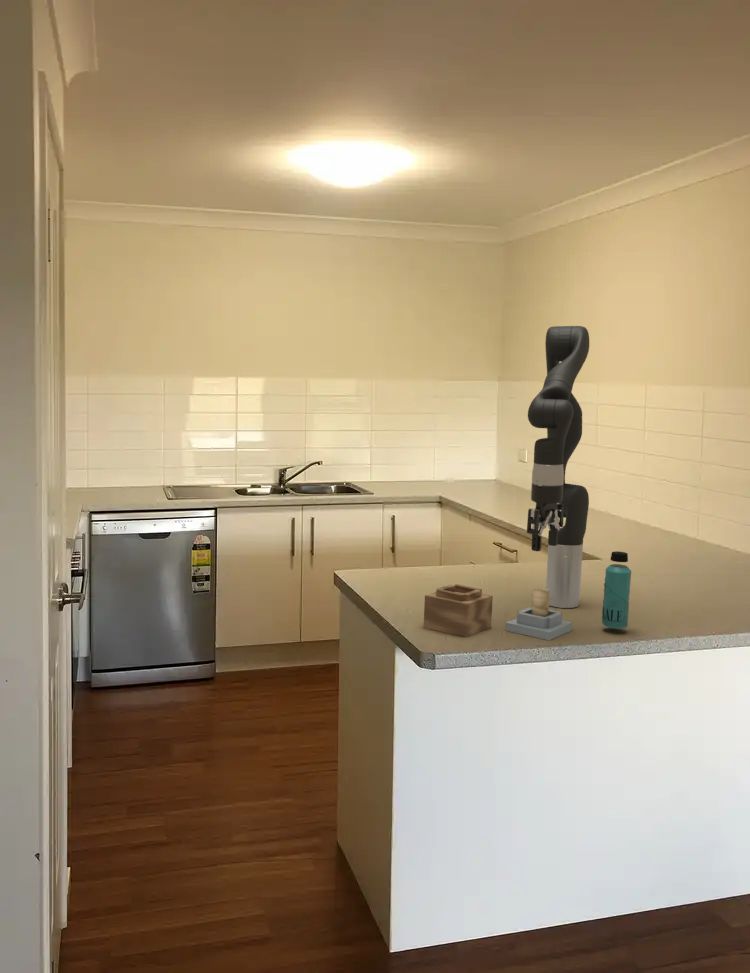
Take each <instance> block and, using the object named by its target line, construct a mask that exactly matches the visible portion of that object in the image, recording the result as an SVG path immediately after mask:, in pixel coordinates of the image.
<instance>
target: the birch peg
mask: <svg viewBox="0 0 750 973" xmlns="http://www.w3.org/2000/svg"><path fill="white" fill-rule="evenodd" d="M531 602H532V603H531V607H532V615H537V616H541V617H547V616H548V609H549V606H550V605H549V590H546V588H534V589H532V601H531ZM549 610H550V609H549Z"/></svg>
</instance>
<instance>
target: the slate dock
mask: <svg viewBox="0 0 750 973" xmlns="http://www.w3.org/2000/svg"><path fill="white" fill-rule="evenodd" d="M562 617H563V611H558V610H554V609H548V616H547V617H541V616H537V615H532V606H531V607H530V606H529V607H526V608H523V609H521V610H517V614H516V618H514V619H511V620H509V621H506V622H505V628H504V629H505V630H504V631H506V632H511V633H515V634H519V635H523V636H528V637H533V638H538V639H541V640H545V641H551V640H553V639H556V638H558V637H560V636H562V635H566V634H567V633H569V632H572V631H573V622H571V621H566V620H563V618H562Z"/></svg>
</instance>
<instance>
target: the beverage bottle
mask: <svg viewBox="0 0 750 973" xmlns="http://www.w3.org/2000/svg"><path fill="white" fill-rule="evenodd" d="M628 555H629V554H628V552H624V551H617V550H616V551H612V552H611V555H610V561H611V562H615V563H613V564H609V565H608V566H607V567H606V568H605V577H604V584H603V588H604V589H603V599H602V616H601V623H602V625H603V626H604V627H605V628H609V629H617V630H618V629H619V630H620V629H621V630H622V629H626V628H627V627H628V623H629V613H630V612H629V610H630V595H631V594H630V592H631V579H632V570H631V569H630V568H629V566H627V565H624V564H619V563H628V561H629V559H628V558H629V556H628Z"/></svg>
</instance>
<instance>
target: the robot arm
mask: <svg viewBox="0 0 750 973" xmlns="http://www.w3.org/2000/svg"><path fill="white" fill-rule="evenodd" d="M589 334H590V333H589V330H588V328H586V327H585V326H582V325H561V326H560V325H559V326H550V327H549V328H548V329H547V330H546V334H545V341H544V342H545V344H544V345H545V360H546V363H545V364H546V377H545V378H544V383H543V386H542V389H541V390H540V391H539V392H538V394H537V395H536V396H535V397H534V398H533V399H532V401H531V402H530V404H529V407H528V410H527V419H528V421H529V424H530V425H531V426H532V427H533V428H537V429H546V434H547V436H546V437H544V438H543V437H542V438H539V439H538V438H537V440H536V441H535V442H534V445H533V446H534V448H533V466H532V472H531V489H530V490H531V492H530V500H531V501H532V502H534V503H535V508H528V510H527V521H526V522H527V524H526V533H527V534H529V535H531V551H534V552H541V550H542V540H543V539H542V538H543V537H542V534H543V531H544V529H547V527H548V529H549V530H548V536H547V537H548V539H547V547H548V548H547V562H546V577H545V589H546V590H549V606H550V607H555V608H560V609H561V608H562V609H563V608H564V609H571V608H577V607H579V606H580V602H581V601H580V599H581V598H580V597H581V586H582V585H581V583H582V563H583V550H584V549H583V548H584V537H585V535H586V530H587V522H588V516H589V515H588V513H589V506H590V497H589V491H588V490H587V488H586V487H585V486H583V485H580V484H572V483H566V469H567V464H568V462H569V460H570V459H571V456H572V455H573V454H574V451H575V450H576V448H577V447H578V445H579V443H580V441H581V438H582V436H583V410H582V407H581V406H580V403H579V402H578V399H576V396H574V394H573V393H572V392H573V391H572V390H573V387H574V383H575V380H576V378H577V376H578V374H579V373H580V371H581V369H582V367H583V365H584V364H585V362H586V360H587V358H588V355H589V351H590V350H589V349H590V335H589ZM564 518H565V522H564Z"/></svg>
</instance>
